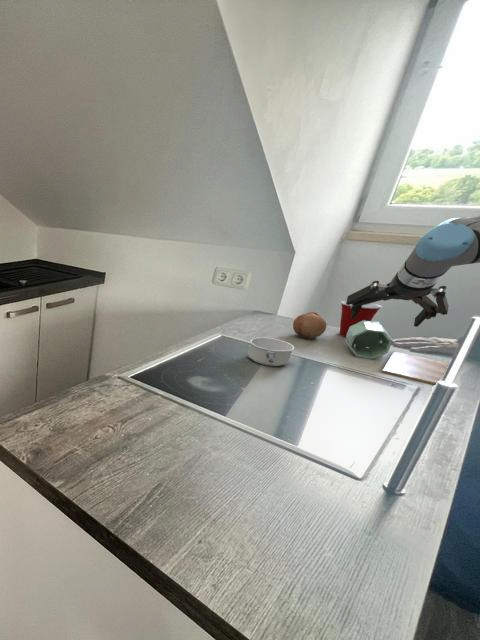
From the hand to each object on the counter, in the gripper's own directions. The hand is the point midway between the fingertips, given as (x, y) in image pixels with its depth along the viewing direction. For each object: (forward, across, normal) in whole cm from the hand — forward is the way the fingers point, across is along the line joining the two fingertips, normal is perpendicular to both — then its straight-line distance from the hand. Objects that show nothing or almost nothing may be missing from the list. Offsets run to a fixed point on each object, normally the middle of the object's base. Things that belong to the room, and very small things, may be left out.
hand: (383, 318), depth 112 cm
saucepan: (-2, -25, -22) cm, 33 cm away
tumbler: (+17, 0, -3) cm, 17 cm away
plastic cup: (+29, -2, +9) cm, 30 cm away
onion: (+22, -15, +2) cm, 27 cm away
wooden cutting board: (+11, +11, -8) cm, 18 cm away
